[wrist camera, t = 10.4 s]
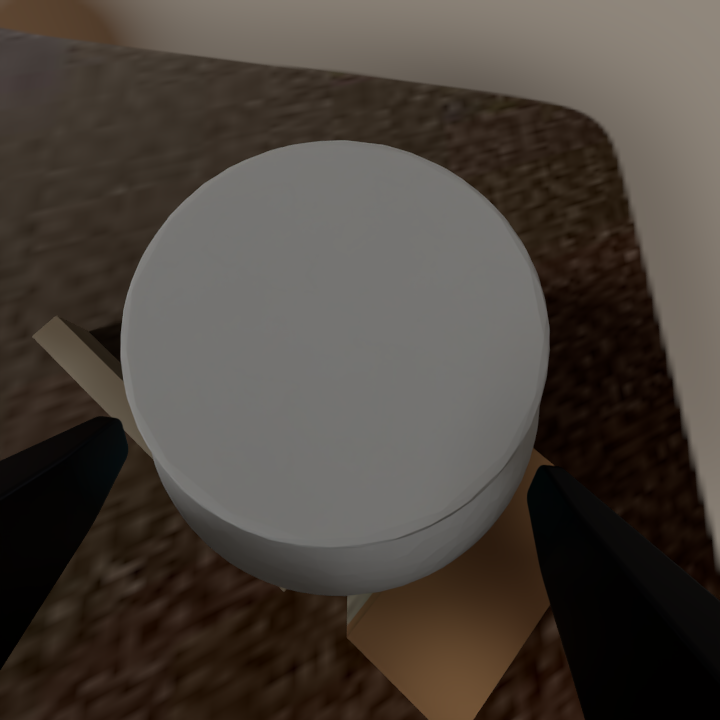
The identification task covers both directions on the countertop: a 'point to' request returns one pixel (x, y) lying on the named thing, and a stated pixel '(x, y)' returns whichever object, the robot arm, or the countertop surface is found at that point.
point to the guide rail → (91, 370)
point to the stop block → (458, 617)
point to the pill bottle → (337, 365)
